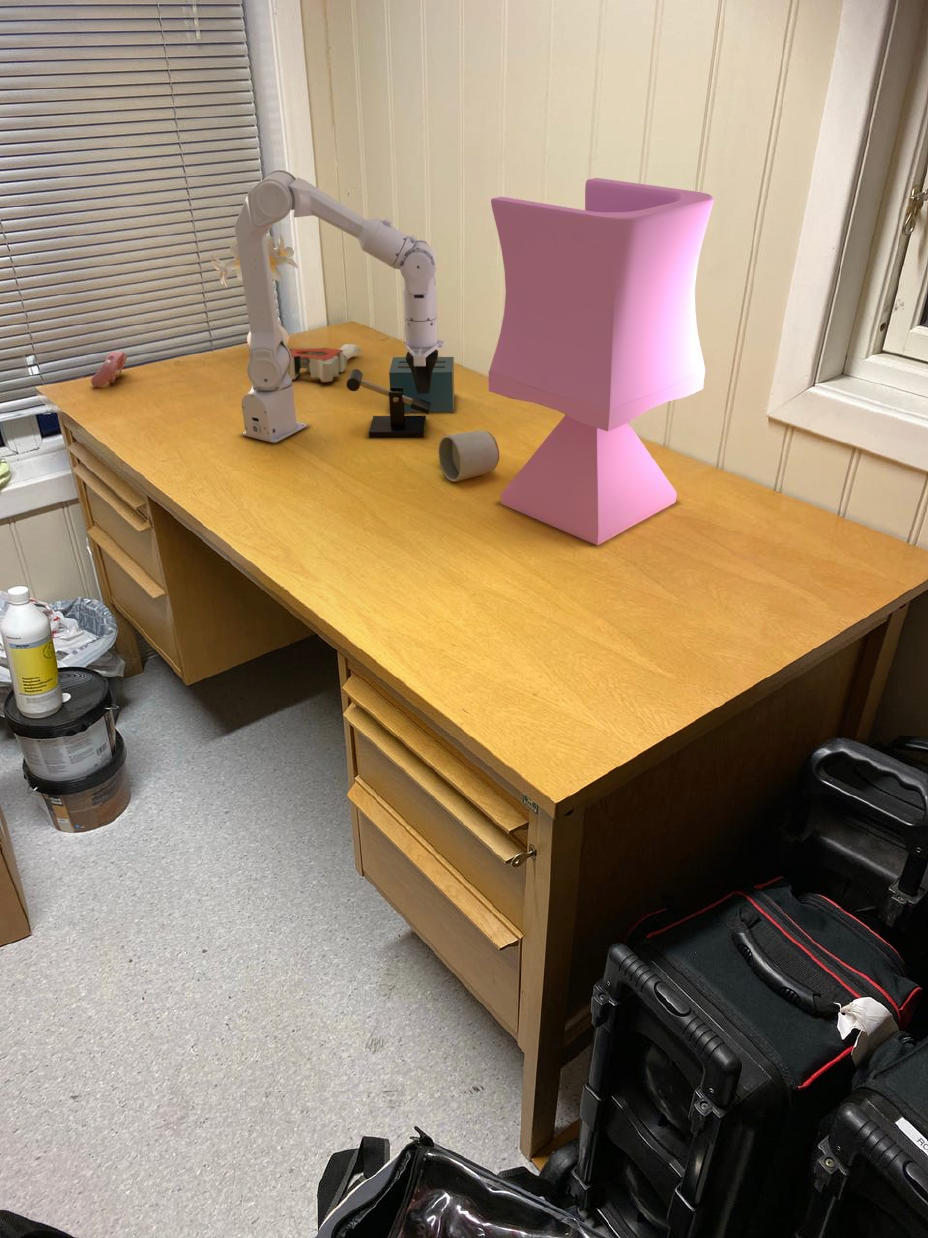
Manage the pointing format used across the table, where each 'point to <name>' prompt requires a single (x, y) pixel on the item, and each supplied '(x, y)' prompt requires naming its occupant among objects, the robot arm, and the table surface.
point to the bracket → (397, 420)
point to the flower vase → (275, 261)
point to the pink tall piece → (598, 344)
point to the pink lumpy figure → (110, 369)
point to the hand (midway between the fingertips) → (423, 392)
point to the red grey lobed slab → (321, 361)
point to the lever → (384, 391)
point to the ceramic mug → (468, 454)
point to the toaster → (439, 388)
